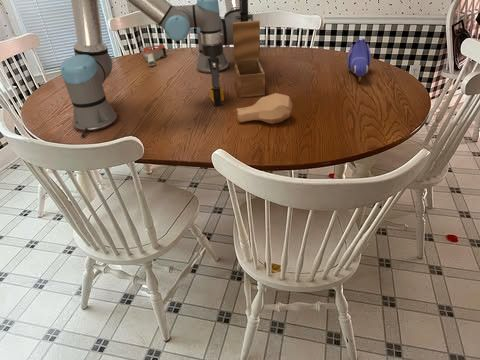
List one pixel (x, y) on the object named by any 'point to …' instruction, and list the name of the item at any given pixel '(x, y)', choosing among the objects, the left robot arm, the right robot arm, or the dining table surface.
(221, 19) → the right robot arm
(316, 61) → the dining table surface
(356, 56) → the toy
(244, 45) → the lid
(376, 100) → the dining table surface
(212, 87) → the block
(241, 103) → the dining table surface
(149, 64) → the tape dispenser
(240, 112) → the squash
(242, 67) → the wooden box
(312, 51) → the dining table surface
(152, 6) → the left robot arm
